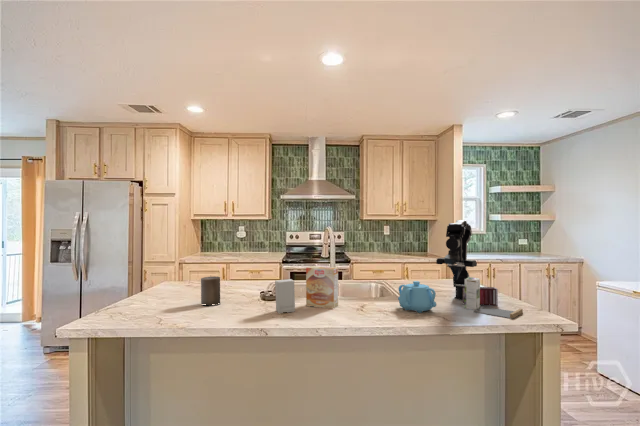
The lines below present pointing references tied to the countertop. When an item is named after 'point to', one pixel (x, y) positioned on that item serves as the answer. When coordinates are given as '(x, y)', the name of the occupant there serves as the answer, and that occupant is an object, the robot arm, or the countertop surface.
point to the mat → (500, 312)
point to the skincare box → (285, 295)
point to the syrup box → (472, 293)
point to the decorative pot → (416, 297)
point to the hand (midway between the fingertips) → (456, 279)
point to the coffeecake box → (322, 286)
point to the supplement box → (487, 296)
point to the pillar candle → (210, 290)
